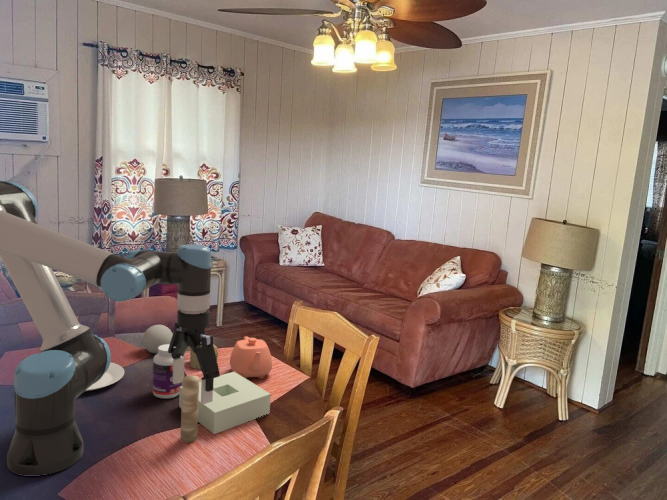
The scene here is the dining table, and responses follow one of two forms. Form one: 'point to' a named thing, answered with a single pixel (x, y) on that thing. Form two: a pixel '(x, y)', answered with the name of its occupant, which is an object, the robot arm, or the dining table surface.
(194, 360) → the decorative object
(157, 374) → the pill bottle
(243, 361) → the teapot
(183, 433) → the dowel
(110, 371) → the plate
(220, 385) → the bore block
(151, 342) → the ball
